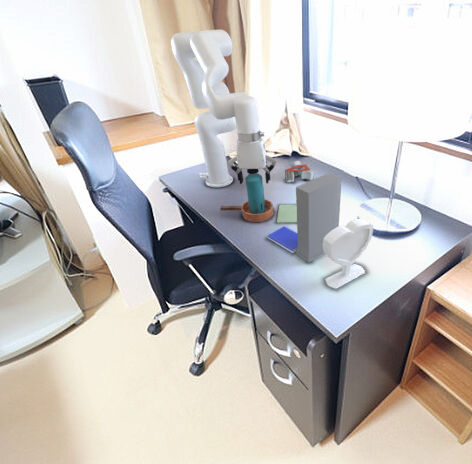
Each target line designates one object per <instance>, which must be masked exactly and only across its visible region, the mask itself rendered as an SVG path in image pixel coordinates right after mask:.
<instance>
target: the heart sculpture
mask: <svg viewBox="0 0 472 464" xmlns="http://www.w3.org/2000/svg"><path fill="white" fill-rule="evenodd" d="M373 234H374V225H373V224H372V223H370V222H369V221H366V220H365V219H363V218H356V219H352V220H350V221H349V222H347V224H346V225H345V226H343V225H339V227H336V228H335V229H333V230H332V231H330V232H329V233H328V234H327V235H326V236H325V237H324V239H323V251H324V254H325V256H326V257H327V258H329V259H330V260H331V261H332V262H334V263H335V264H337V265H339V266H341V270H339V271H337V272H336V273H334V274H332V275H330V276H328V277H326V278H325V279H324V280H325V283H326V285H327V286H328V287H329V288H333V289H338V288H341V287H342V286H344V285H346V284H347V283H349V282H351V281H353V280H355V279H357V278H358V277H360V276H362V275H364V274H365V273H366V271H365V269H364V267H363V266H361V265H359V264H356V263H355V262H356V261H357V260H358V259H359V257H360V256H361V255H362V254H363V253H364V251H365V250H366V249H367V248H368V245H369V244H370V242H371V241H372V237H373Z"/></svg>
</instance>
